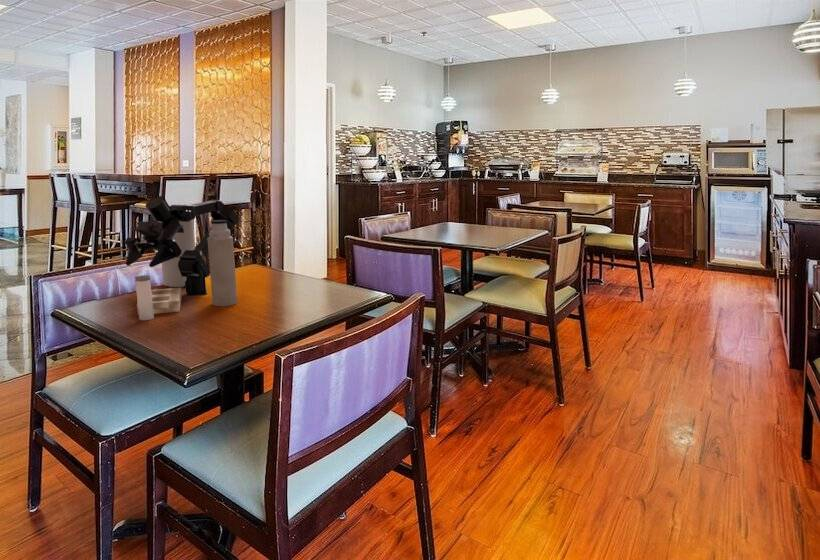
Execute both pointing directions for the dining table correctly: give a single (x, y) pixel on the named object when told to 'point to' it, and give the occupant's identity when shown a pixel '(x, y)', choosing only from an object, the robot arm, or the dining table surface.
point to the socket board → (166, 300)
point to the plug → (144, 297)
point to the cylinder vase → (171, 266)
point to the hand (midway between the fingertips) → (138, 265)
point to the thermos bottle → (222, 264)
